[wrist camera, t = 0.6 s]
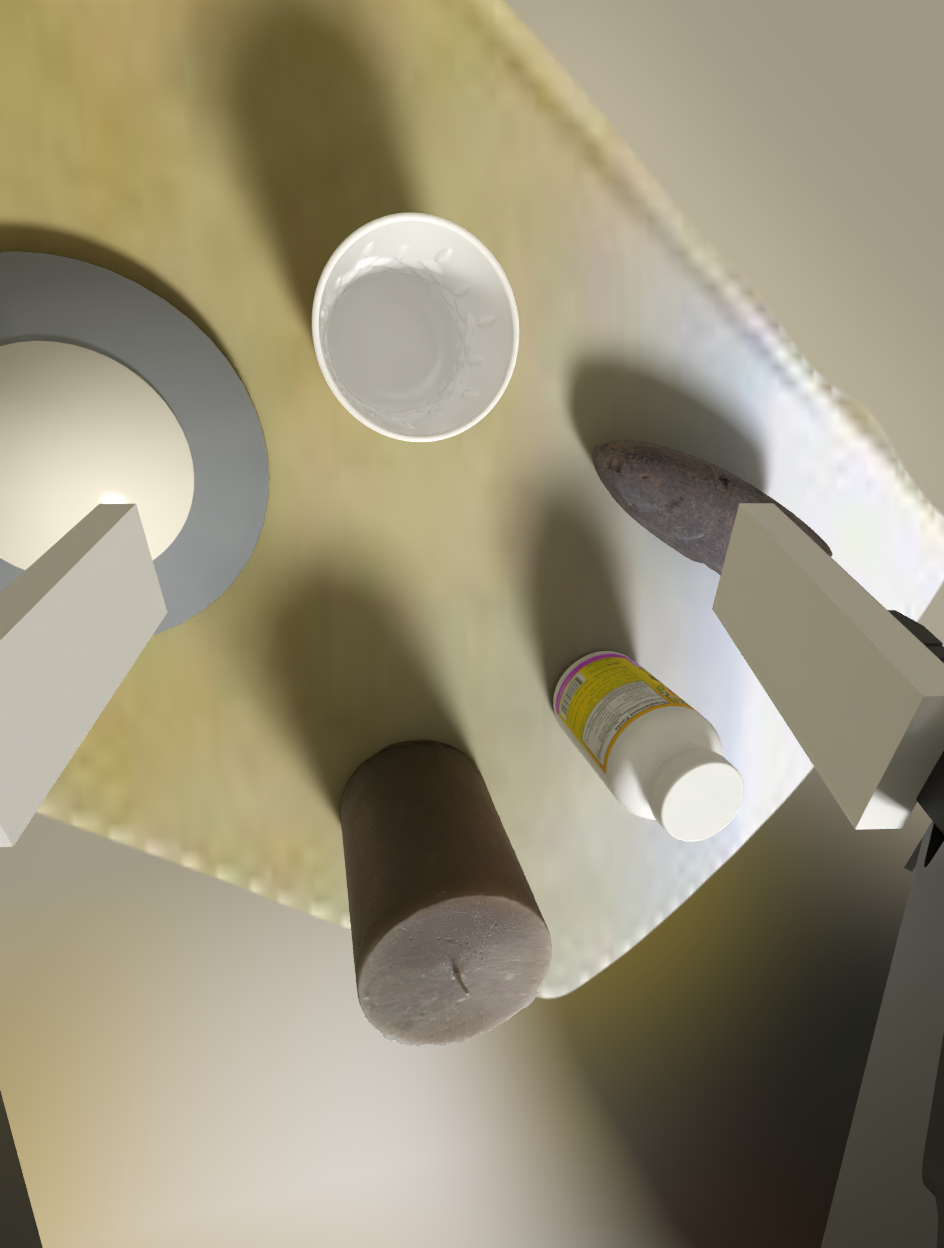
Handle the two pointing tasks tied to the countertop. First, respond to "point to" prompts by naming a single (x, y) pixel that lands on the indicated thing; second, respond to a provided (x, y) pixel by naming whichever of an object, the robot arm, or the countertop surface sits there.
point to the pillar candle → (436, 899)
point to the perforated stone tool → (681, 498)
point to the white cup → (415, 327)
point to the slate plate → (123, 427)
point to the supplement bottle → (648, 746)
